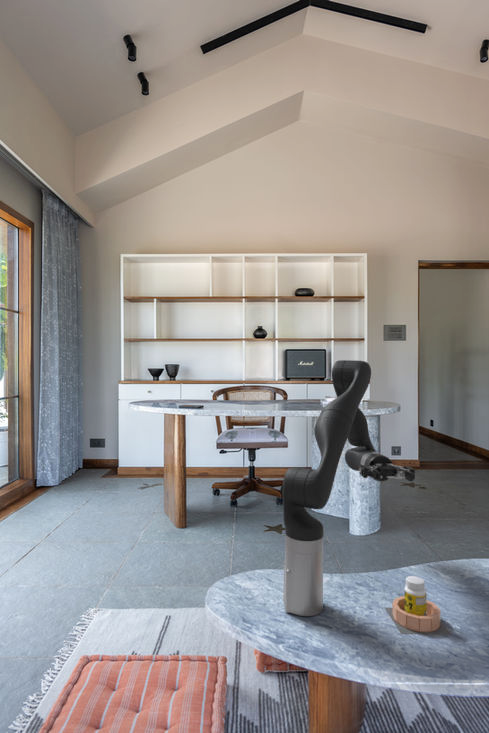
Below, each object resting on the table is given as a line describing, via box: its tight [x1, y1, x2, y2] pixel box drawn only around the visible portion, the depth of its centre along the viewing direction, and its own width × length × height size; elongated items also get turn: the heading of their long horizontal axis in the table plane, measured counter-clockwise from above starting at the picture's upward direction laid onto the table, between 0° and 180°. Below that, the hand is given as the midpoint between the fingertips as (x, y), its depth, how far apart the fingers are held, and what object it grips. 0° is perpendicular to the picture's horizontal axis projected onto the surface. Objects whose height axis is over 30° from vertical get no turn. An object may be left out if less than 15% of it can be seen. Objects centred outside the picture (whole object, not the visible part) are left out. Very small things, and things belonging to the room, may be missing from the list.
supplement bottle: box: [403, 575, 428, 616], centre depth 100 cm, size 5×5×8 cm
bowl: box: [391, 595, 442, 633], centre depth 100 cm, size 10×10×3 cm
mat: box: [384, 607, 452, 635], centre depth 99 cm, size 11×11×1 cm
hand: (395, 477), depth 114 cm, fingers open, 8 cm apart
